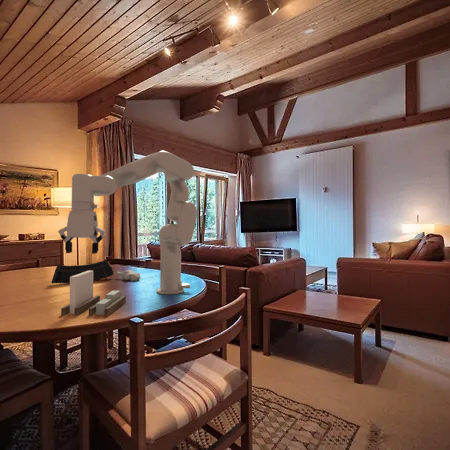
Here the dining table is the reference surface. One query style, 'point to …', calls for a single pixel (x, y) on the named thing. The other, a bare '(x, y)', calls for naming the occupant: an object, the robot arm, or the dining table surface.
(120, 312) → the dining table surface
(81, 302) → the tall sheet
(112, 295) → the large offcut
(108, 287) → the dining table surface
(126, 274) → the bunny figurine
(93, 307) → the rack
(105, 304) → the small offcut
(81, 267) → the magazine
